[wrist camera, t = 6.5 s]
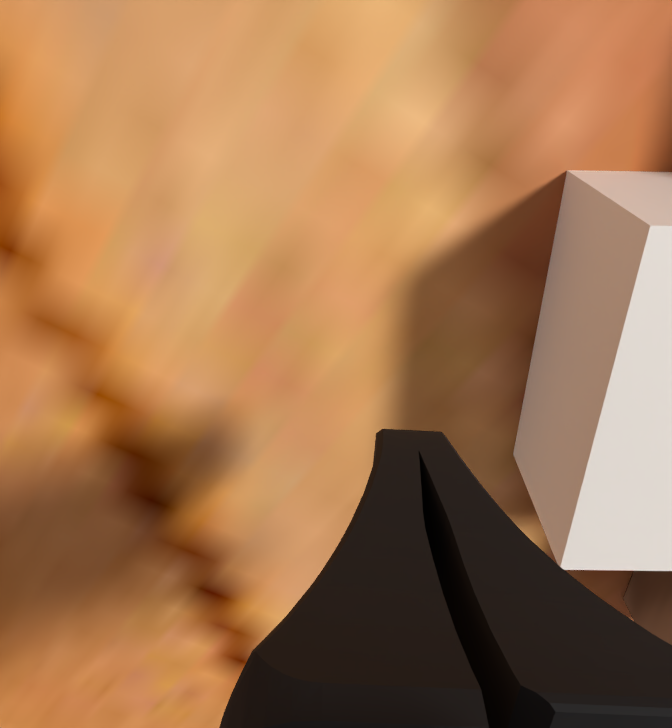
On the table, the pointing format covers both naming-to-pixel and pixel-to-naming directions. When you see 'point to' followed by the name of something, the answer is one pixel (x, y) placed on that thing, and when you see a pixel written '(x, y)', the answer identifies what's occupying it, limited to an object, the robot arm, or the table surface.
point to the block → (604, 377)
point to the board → (651, 602)
